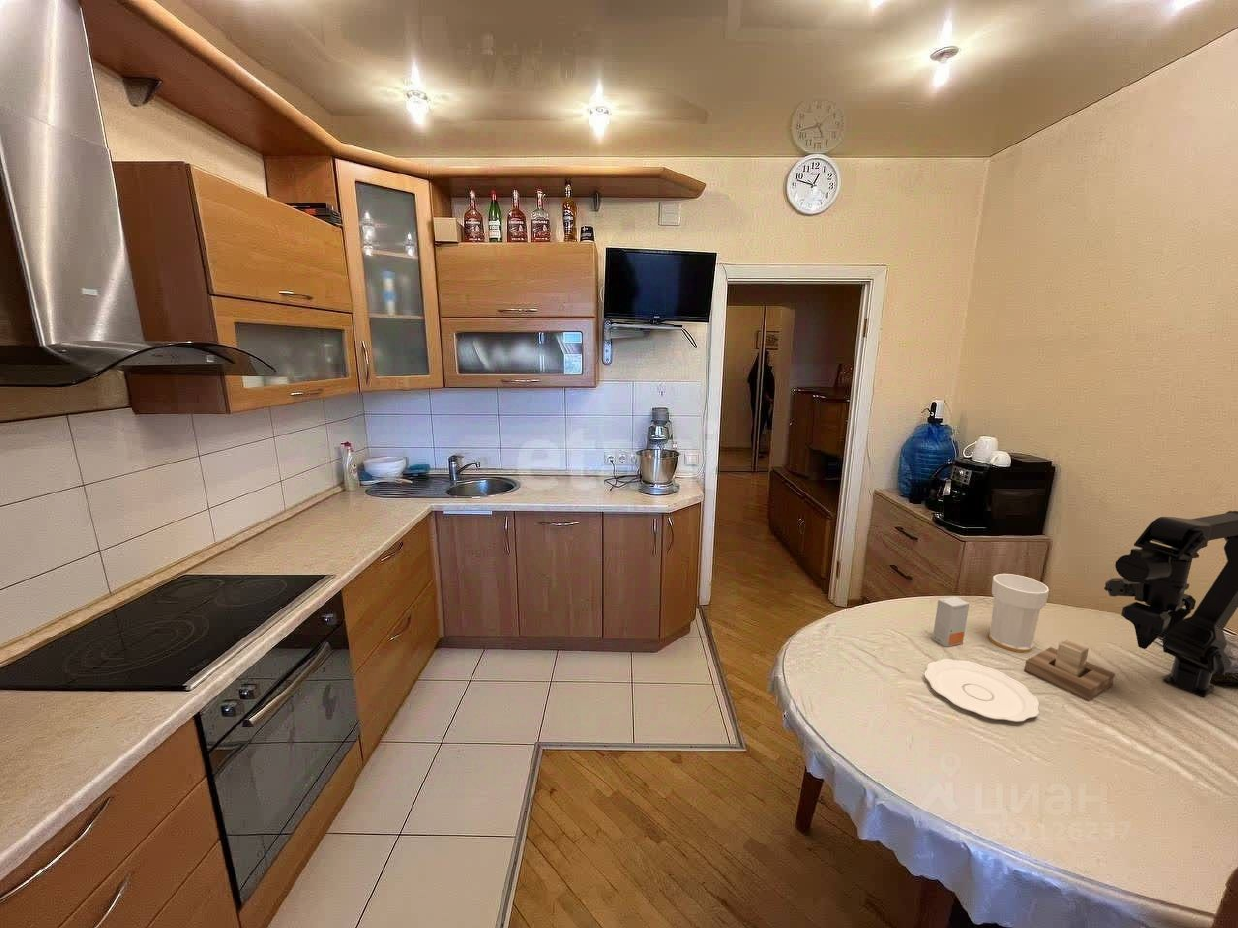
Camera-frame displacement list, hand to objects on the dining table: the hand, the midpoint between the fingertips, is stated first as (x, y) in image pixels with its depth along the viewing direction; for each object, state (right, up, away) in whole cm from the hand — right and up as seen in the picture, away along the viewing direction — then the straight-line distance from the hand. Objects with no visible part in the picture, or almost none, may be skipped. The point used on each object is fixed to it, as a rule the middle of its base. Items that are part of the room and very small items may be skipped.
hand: (1150, 642), depth 105 cm
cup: (-12, -9, +23) cm, 27 cm away
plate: (-35, -13, +4) cm, 38 cm away
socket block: (-11, -12, +8) cm, 18 cm away
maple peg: (-10, -11, +8) cm, 17 cm away
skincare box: (-28, -9, +24) cm, 38 cm away
